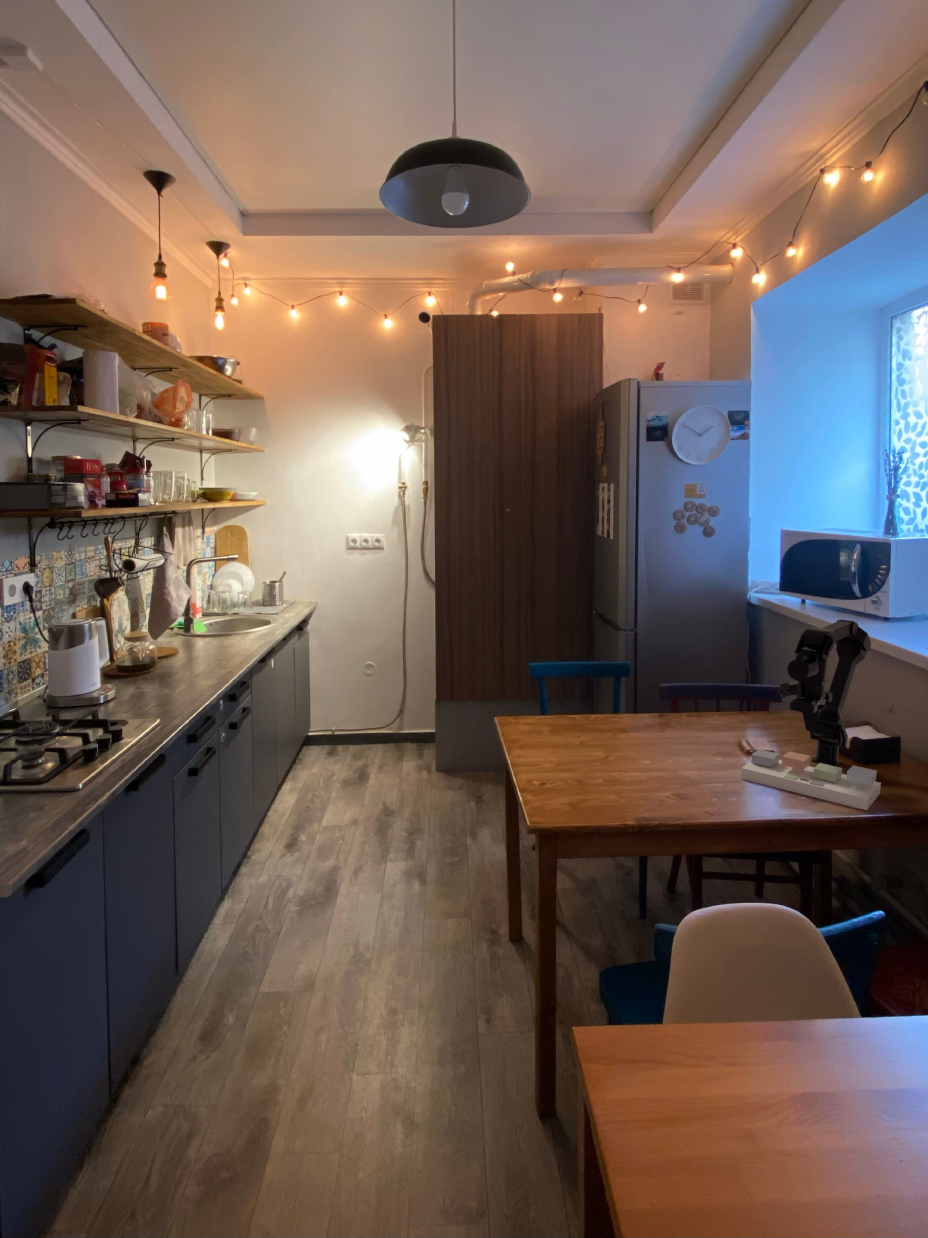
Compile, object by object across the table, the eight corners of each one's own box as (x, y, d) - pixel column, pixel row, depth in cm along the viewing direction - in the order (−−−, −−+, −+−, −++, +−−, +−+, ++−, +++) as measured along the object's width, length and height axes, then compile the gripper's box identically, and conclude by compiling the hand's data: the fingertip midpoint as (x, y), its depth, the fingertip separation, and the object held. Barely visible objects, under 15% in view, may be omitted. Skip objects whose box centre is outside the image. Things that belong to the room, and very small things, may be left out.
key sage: (818, 771, 206) (819, 763, 205) (841, 776, 202) (842, 768, 202) (812, 777, 202) (813, 768, 201) (835, 782, 198) (836, 773, 198)
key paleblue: (852, 774, 201) (853, 765, 200) (875, 779, 197) (876, 770, 197) (846, 780, 196) (847, 771, 196) (870, 786, 193) (871, 776, 192)
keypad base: (758, 765, 219) (759, 754, 219) (879, 794, 200) (881, 782, 199) (740, 778, 209) (741, 767, 208) (866, 810, 189) (868, 798, 189)
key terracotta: (788, 759, 211) (789, 751, 210) (809, 764, 207) (810, 756, 207) (781, 765, 206) (782, 756, 206) (803, 770, 203) (804, 761, 202)
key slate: (758, 757, 216) (758, 749, 215) (778, 762, 212) (779, 753, 212) (751, 762, 212) (751, 754, 211) (772, 767, 208) (772, 759, 208)
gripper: (793, 664, 222) (788, 717, 224) (772, 676, 208) (767, 732, 210) (835, 671, 215) (829, 725, 217) (815, 683, 201) (810, 741, 203)
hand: (808, 730), depth 212 cm, fingers closed
